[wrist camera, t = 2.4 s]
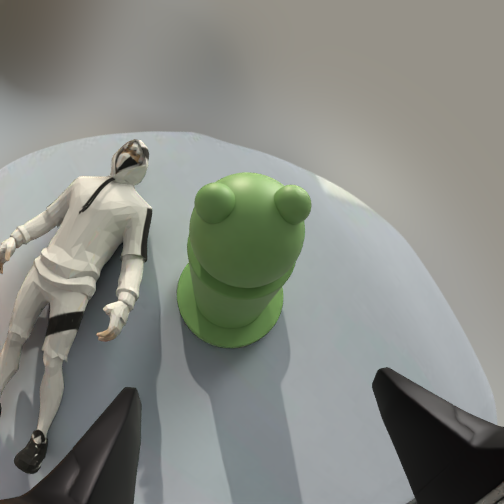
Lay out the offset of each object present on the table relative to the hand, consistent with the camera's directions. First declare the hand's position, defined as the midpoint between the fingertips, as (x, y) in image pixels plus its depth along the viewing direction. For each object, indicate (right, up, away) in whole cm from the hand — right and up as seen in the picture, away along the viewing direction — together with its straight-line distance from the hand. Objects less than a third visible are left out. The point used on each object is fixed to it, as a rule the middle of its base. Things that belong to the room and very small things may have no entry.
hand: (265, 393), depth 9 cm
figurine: (-16, +1, +12) cm, 20 cm away
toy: (-2, +1, +14) cm, 15 cm away
